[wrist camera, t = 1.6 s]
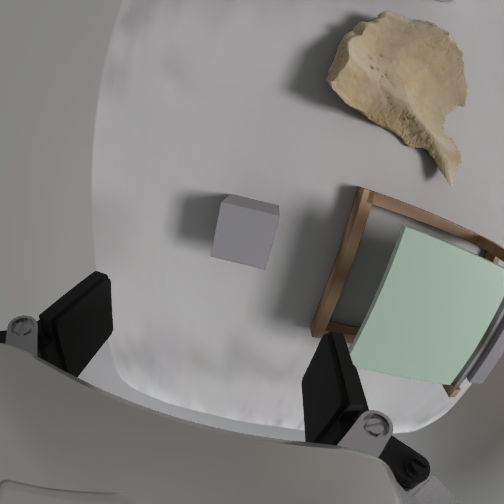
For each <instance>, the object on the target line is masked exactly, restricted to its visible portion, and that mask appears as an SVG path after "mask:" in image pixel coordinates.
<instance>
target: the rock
mask: <svg viewBox="0 0 504 504" xmlns="http://www.w3.org/2000/svg"><path fill="white" fill-rule="evenodd" d="M462 56H463V52H462V51H461V50H460V49H459V48H458V46H457V44H456V43H455V42H454V41H453V40H452V39H451V37H450V33H449V32H447V31H446V30H443V29H441V28H439V27H438V26H437V25H436V24H434V23H431V22H429V21H421V20H410V19H406V18H405V17H404V16H401V15H398V14H395V13H393V12H391V11H384V12H382V13H380V14H379V15H378V18H375V19H374V20H372V21H370V22H364V21H361V22H359V23H358V24H357V25H355V26H354V28H353V30H352V31H351V32H349V33H347V34H345V35H344V36H343V39H342V41H341V42H340V44H339V46H338V49H337V52H336V55H335V58H334V60H333V62H332V65H331V67H330V68H329V71H328V76H327V78H326V79H325V80H326V81H327V82H328V84H329V85H330V86H331V87H332V89H333V90H334V91H335V92H336V93H337V95H338V96H339V97H340V98H341V99H342V100H343V101H344V102H345V103H346V104H348V105H349V106H350V107H353V108H355V109H356V110H358V111H359V112H361V113H362V114H363V115H364V116H365V117H367V118H368V119H369V120H371V121H372V122H374V123H376V124H378V125H380V126H382V127H384V128H386V129H388V130H390V131H392V132H394V133H395V134H397V135H398V136H399V137H400V138H402V139H403V141H404V143H405V144H407V145H408V146H409V147H416V148H421V147H422V148H424V149H426V150H428V152H429V155H430V156H432V157H433V159H435V162H436V164H437V166H438V168H439V170H440V171H441V172H442V174H443V175H444V176H445V178H446V180H447V182H448V183H449V184H450V186H451V187H452V182H453V178H454V175H455V171H456V169H457V167H458V166H459V164H460V162H461V152H460V151H459V149H458V147H457V146H456V145H455V144H454V142H453V140H452V139H451V138H448V137H447V136H446V135H445V134H444V131H443V130H444V128H443V126H442V123H444V122H445V120H444V114H446V113H448V112H449V111H451V110H452V109H453V108H454V107H455V106H463V107H464V106H465V101H466V96H467V94H468V87H467V84H466V81H465V75H464V62H463V60H462Z"/></svg>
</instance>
